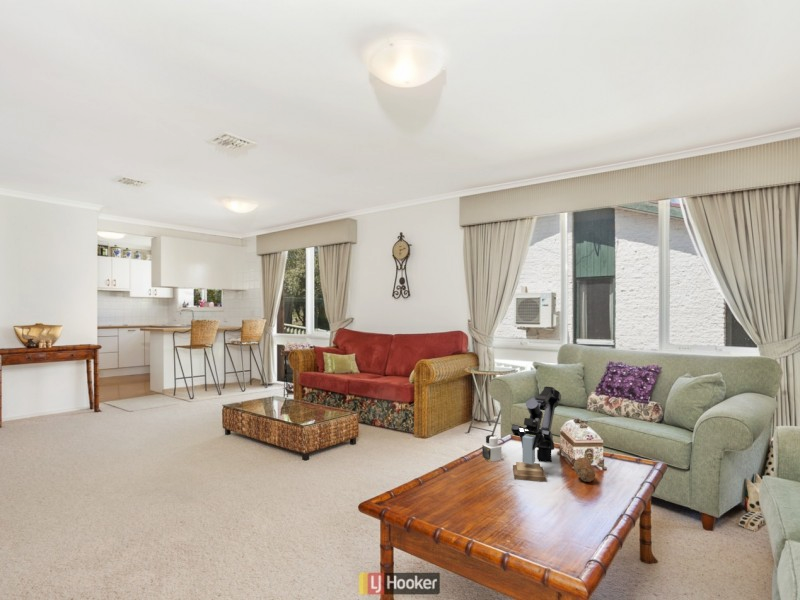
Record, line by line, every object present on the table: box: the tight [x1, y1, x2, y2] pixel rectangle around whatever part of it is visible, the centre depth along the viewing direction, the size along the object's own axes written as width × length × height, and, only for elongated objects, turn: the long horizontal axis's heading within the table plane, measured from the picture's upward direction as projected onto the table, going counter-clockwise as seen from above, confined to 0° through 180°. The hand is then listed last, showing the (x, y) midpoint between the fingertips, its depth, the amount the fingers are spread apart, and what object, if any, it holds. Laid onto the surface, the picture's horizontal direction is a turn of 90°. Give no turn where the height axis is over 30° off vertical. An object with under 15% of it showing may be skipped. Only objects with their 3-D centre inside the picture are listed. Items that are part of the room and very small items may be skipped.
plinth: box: [512, 461, 547, 483], centre depth 216 cm, size 14×14×4 cm
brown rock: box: [573, 456, 596, 483], centre depth 211 cm, size 10×13×10 cm
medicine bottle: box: [482, 434, 502, 463], centre depth 239 cm, size 7×7×12 cm
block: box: [521, 434, 536, 464], centre depth 217 cm, size 4×4×12 cm
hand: (527, 448), depth 215 cm, fingers closed on block, 4 cm apart
